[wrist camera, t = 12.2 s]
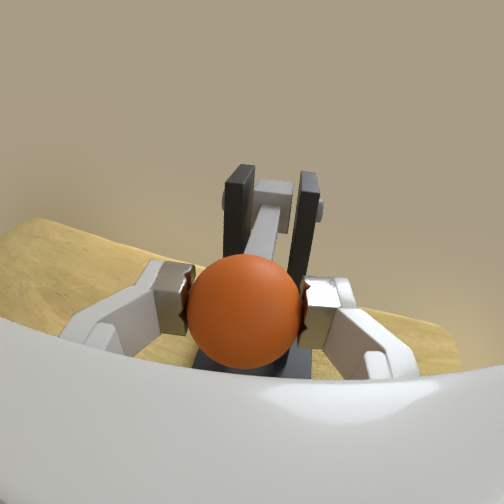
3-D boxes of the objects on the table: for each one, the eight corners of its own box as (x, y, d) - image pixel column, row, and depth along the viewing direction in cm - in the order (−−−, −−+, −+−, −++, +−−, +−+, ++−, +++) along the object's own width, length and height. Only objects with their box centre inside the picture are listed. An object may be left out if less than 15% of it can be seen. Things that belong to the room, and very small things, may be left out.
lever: (289, 398, 8) (313, 313, 7) (176, 378, 9) (162, 289, 7) (298, 226, 20) (305, 174, 18) (245, 219, 20) (249, 168, 18)
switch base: (307, 405, 20) (368, 220, 12) (189, 386, 20) (168, 196, 13) (309, 318, 28) (340, 167, 21) (219, 305, 29) (221, 154, 22)
